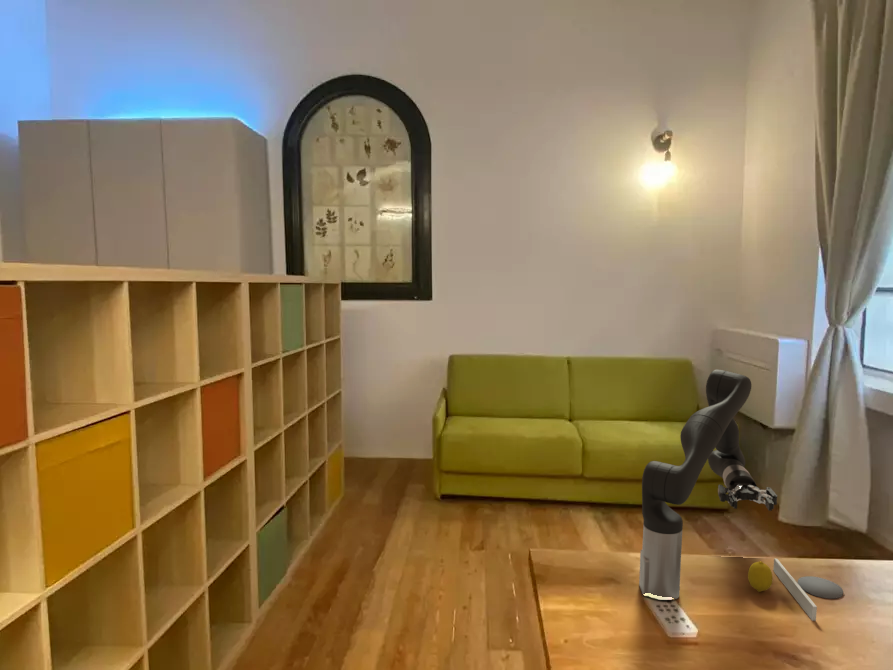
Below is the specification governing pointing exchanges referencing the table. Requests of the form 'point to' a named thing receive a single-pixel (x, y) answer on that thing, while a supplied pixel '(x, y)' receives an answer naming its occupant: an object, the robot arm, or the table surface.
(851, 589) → the table surface
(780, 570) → the low wall
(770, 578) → the lemon
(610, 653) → the table surface
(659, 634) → the table surface
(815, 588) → the slate mat
